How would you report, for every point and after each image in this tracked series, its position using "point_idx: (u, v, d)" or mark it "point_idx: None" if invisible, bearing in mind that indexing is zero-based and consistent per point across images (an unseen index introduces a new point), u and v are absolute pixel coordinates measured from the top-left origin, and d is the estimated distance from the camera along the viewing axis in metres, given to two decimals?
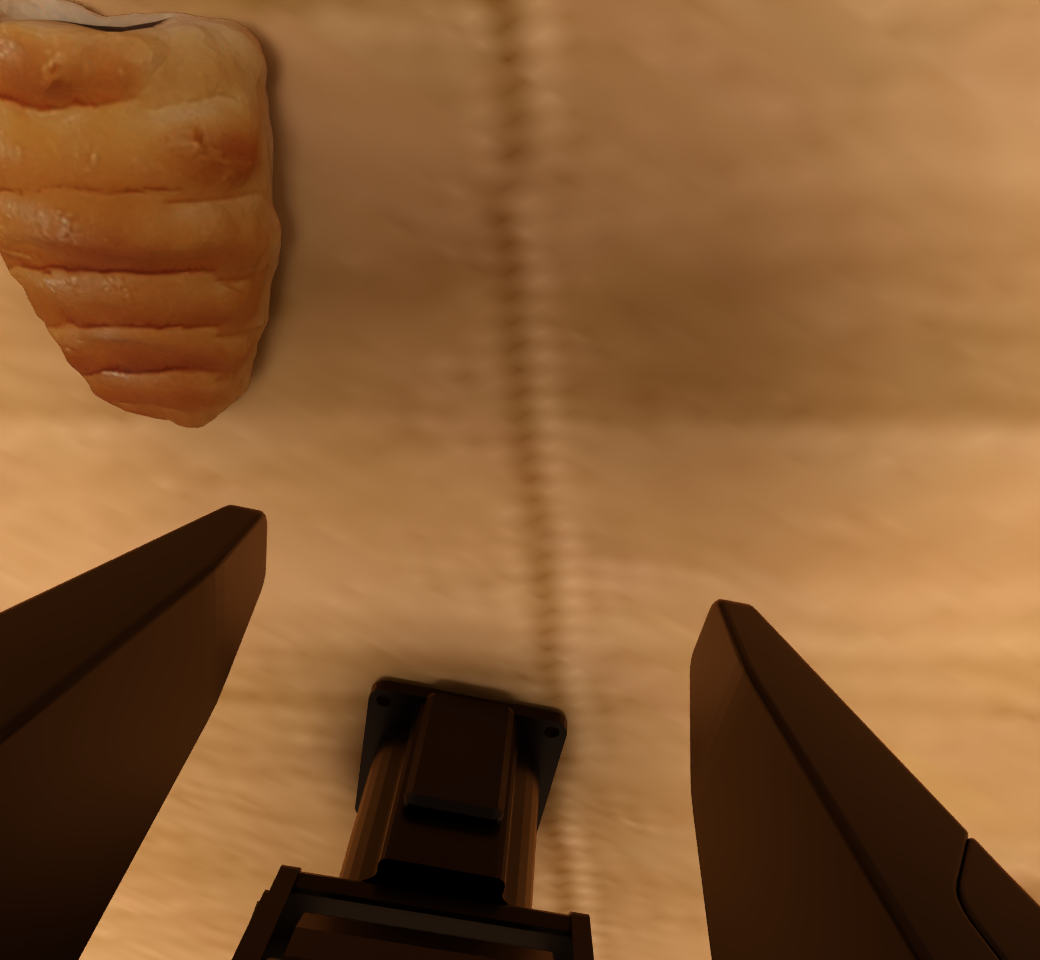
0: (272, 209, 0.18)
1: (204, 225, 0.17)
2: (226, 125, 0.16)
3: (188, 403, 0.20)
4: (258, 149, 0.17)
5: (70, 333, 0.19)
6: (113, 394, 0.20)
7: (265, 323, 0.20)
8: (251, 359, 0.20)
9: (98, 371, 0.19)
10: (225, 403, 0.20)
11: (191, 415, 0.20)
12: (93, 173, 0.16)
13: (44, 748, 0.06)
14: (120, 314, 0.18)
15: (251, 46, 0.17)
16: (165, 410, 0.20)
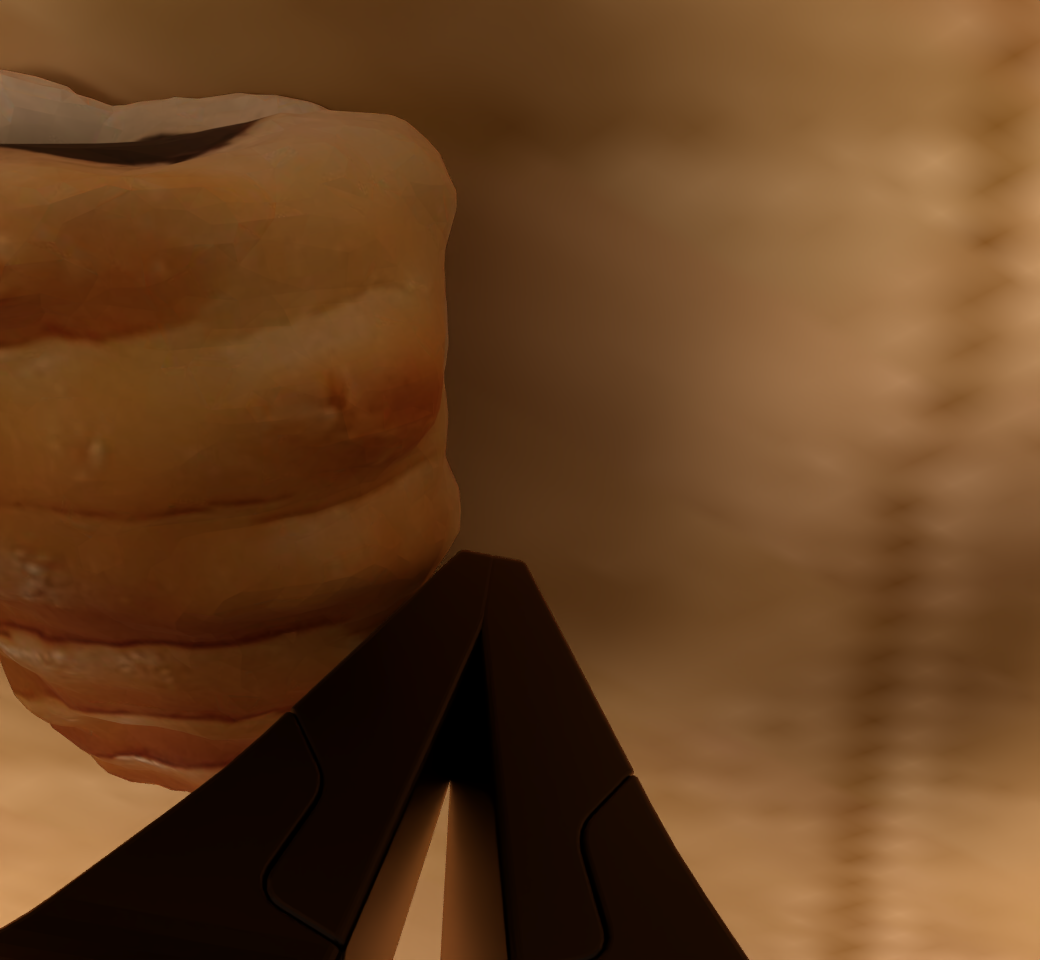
0: (448, 472, 0.09)
1: (336, 560, 0.08)
2: (390, 358, 0.07)
3: None
4: (441, 382, 0.08)
5: (54, 710, 0.10)
6: (137, 776, 0.11)
7: None
8: None
9: (109, 754, 0.10)
10: None
11: None
12: (96, 484, 0.07)
13: (411, 814, 0.06)
14: (154, 701, 0.09)
15: (436, 171, 0.08)
16: None
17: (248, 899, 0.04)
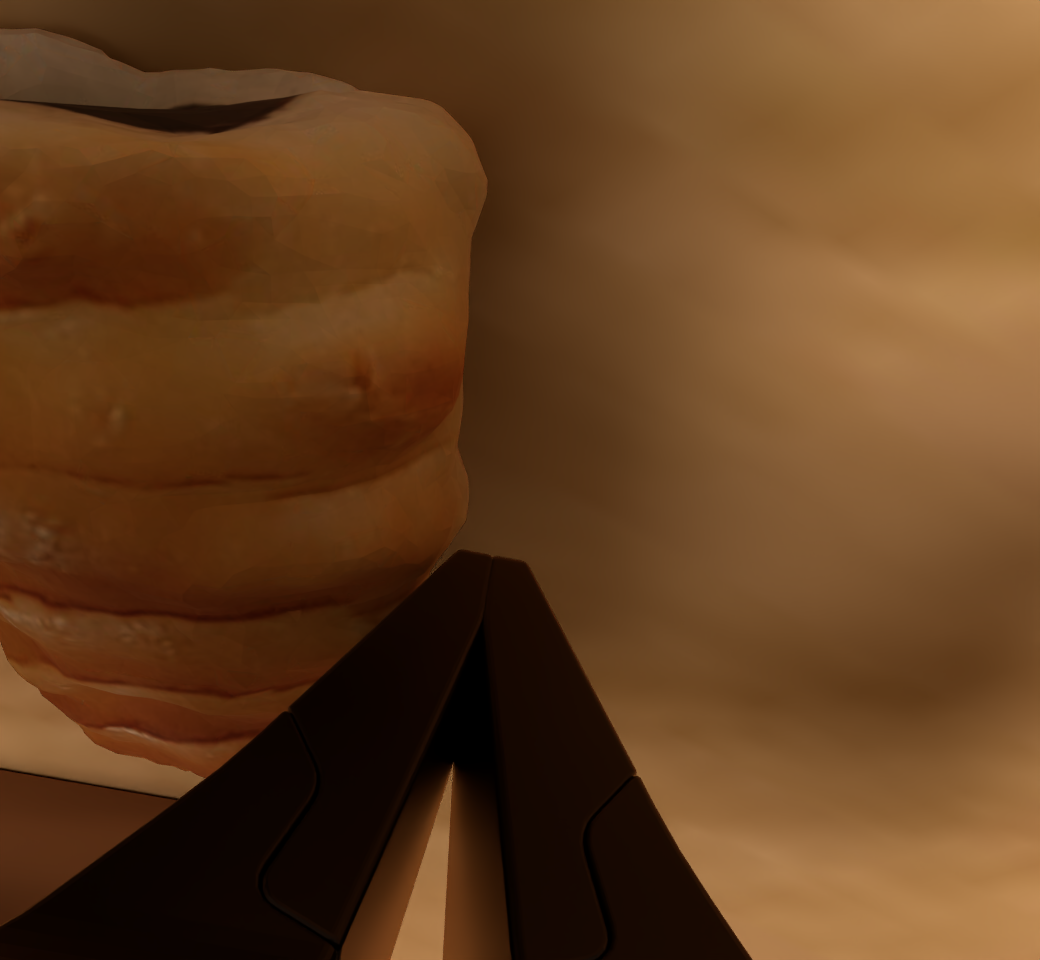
0: (459, 460, 0.09)
1: (348, 539, 0.08)
2: (417, 342, 0.07)
3: None
4: (461, 369, 0.08)
5: (48, 677, 0.09)
6: (125, 749, 0.11)
7: None
8: None
9: (99, 724, 0.10)
10: None
11: None
12: (113, 450, 0.07)
13: (407, 814, 0.06)
14: (152, 673, 0.09)
15: (469, 159, 0.08)
16: None
17: (244, 898, 0.04)
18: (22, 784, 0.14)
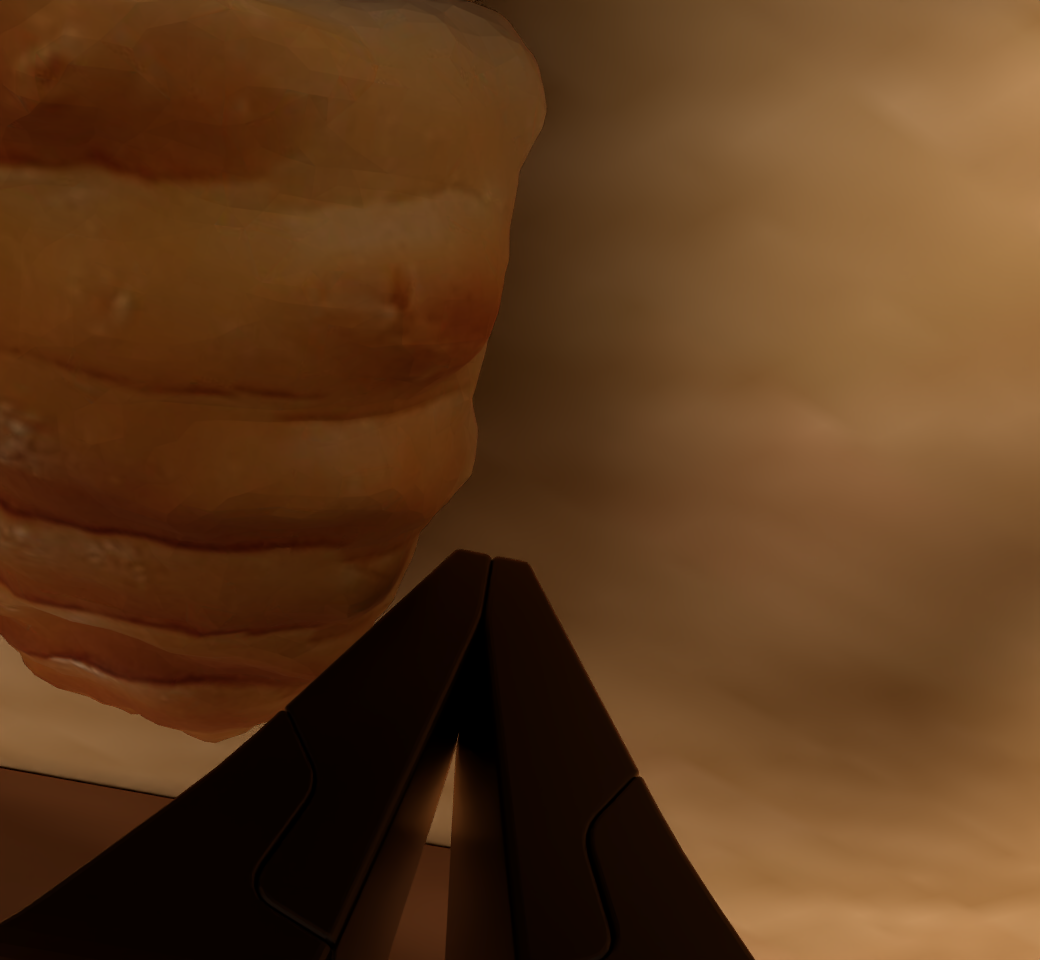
0: (472, 409, 0.09)
1: (357, 475, 0.07)
2: (458, 267, 0.07)
3: (218, 726, 0.10)
4: (496, 308, 0.08)
5: None
6: (68, 682, 0.10)
7: (396, 591, 0.10)
8: None
9: (44, 653, 0.09)
10: None
11: (217, 733, 0.10)
12: (113, 340, 0.06)
13: (404, 814, 0.06)
14: (116, 601, 0.08)
15: (533, 81, 0.07)
16: None
17: (239, 898, 0.04)
18: (437, 857, 0.14)
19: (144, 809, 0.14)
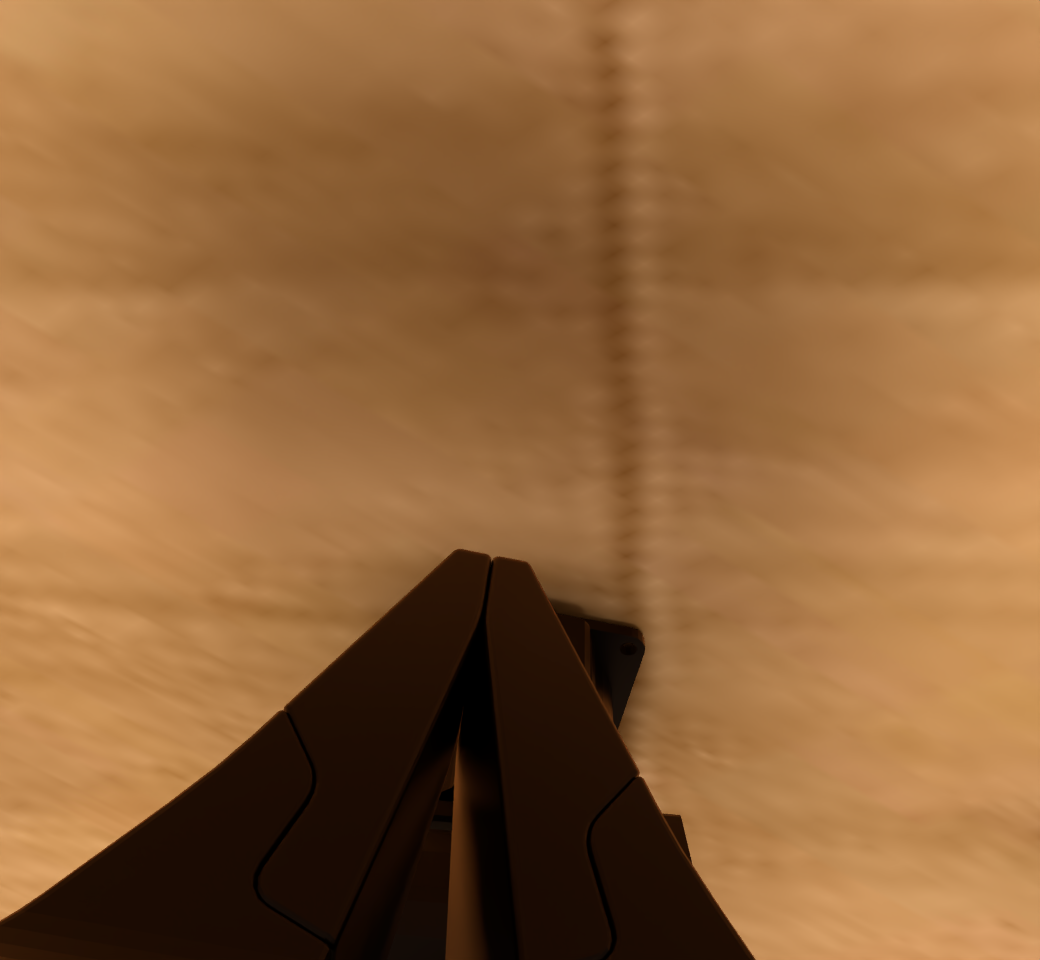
0: None
1: None
2: None
3: None
4: None
5: None
6: None
7: None
8: None
9: None
10: None
11: None
12: None
13: (403, 813, 0.06)
14: None
15: None
16: None
17: (238, 898, 0.04)
18: None
19: None
